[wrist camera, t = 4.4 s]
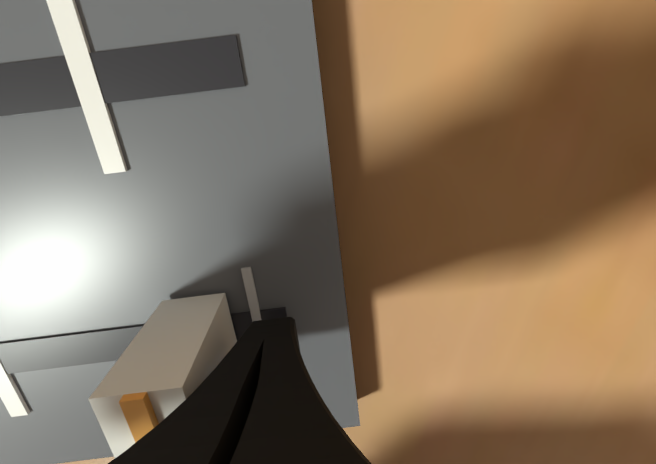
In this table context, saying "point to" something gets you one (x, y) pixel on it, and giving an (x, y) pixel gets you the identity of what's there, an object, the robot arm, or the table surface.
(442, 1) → the table surface
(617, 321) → the table surface
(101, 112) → the console
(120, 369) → the fader
